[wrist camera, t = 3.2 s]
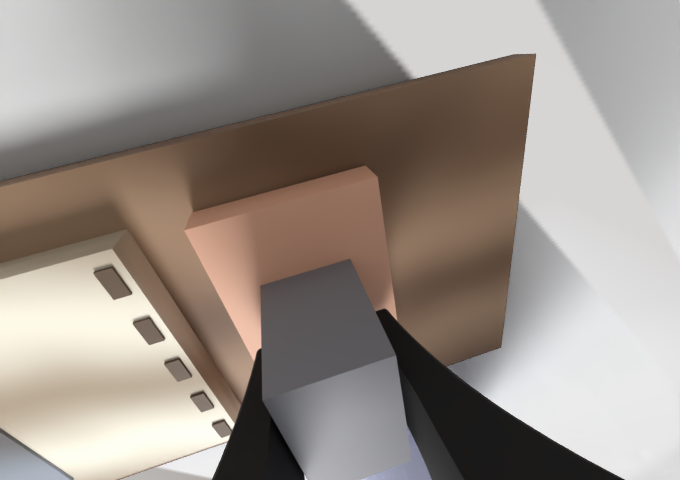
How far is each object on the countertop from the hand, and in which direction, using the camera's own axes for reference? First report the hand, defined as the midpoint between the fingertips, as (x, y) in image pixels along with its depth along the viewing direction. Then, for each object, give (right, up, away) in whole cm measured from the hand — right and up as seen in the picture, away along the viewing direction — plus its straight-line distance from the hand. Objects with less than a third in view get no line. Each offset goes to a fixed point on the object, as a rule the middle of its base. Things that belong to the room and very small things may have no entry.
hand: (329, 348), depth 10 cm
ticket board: (-4, +1, +2) cm, 5 cm away
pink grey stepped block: (-1, +1, +2) cm, 2 cm away
